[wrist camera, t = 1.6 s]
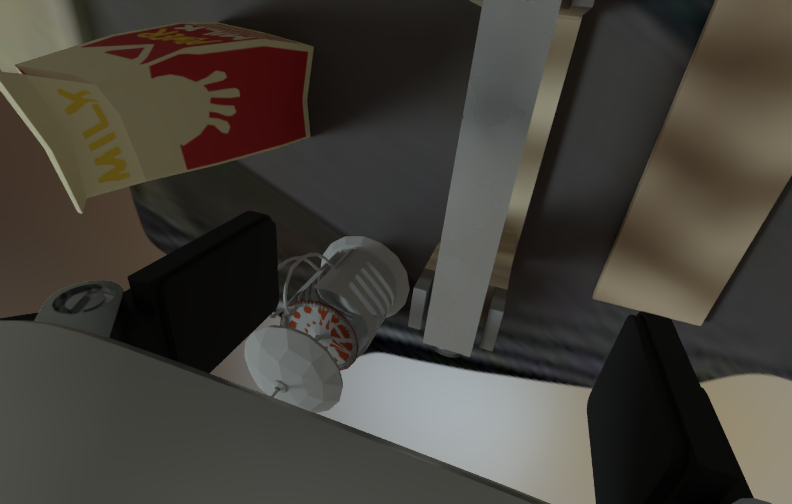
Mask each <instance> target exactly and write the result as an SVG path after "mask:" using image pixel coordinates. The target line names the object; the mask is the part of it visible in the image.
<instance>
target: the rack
mask: <svg viewBox="0 0 792 504" xmlns="http://www.w3.org/2000/svg"><path fill="white" fill-rule="evenodd" d="M469 1H471V2H473V3H475V4H477V5H479V6H481V7H482V4H483V0H469ZM594 1H595V0H562V1H561V5H560V9H559V13H558V17H557V21H556V25H555V29H554V32H553V36H552V40H551V44H550V48H549V52H548V56H547V60H546V64H545V67H544V71H543V75H542V79H541V83H540V87H539V91H538V95H537V99H536V102H535V106H534V110H533V114H532V118H531V122H530V126H529V130H528V133H527V137H526V141H525V145H524V149H523V153H522V157H521V161H520V165H519V168H518V172H517V176H516V180H515V184H514V188H513V192H512V196H511V200H510V203H509V207H508V211H507V215H506V219H505V223H504V227H503V231H502V235H501V238H500V242H499V246H498V250H497V254H496V258H495V262H494V266H493V269H492V273H491V277H490V281H489V285H488V289H487V293H486V297H485V301H484V304H483V308H482V312H481V316H480V320H479V322H481V323H484V324H485V325H484V329H483V334H482V338H481V342H480V347H479V348H483V349H486V350H489V351H493V347H494V344H495V341H496V337H497V334H498V330H499V327H500V323H501V320H502V317H503V313H504V308H505V302H506V296H507V290H508V284H509V278H510V272H511V267H512V263H513V260H514V256H515V253H516V249H517V246H518V242H519V239H520V235H521V232H522V228H523V225H524V221H525V218H526V214H527V210H528V207H529V203H530V200H531V196H532V193H533V189H534V186H535V182H536V179H537V175H538V172H539V168H540V165H541V161H542V158H543V154H544V151H545V147H546V143H547V140H548V136H549V133H550V129H551V126H552V122H553V119H554V115H555V112H556V108H557V105H558V101H559V98H560V94H561V91H562V87H563V84H564V80H565V76H566V73H567V69H568V66H569V62H570V59H571V55H572V52H573V48H574V45H575V41H576V38H577V34H578V31H579V27H580V24H581V20H582V16H583V15H584V14H585V13H586V12H587V11H589V10H590V9H591V8H592V7H593V4H594ZM440 243H441V239H440V241H439V243H438V245H437V246H436V248H435V250H434V252H433V254H432V255H431V257H430V259H429V261H428V263H427V265H426V266H425V268H424V270H423V272H422V274H421V275H420V277H419V279H418V281H417V283H416V284H415V286H414V290H413V296H412V303H411V310H410V316H409V323H408V326H409V327H412V328H416V329H419V330H420V329H421V327H422V324H423V322H424V320H425V318H426V315H427V313H428V311H429V305H430V300H431V294H432V288H433V283H434V277H435V271H436V266H437V260H438V254H439V249H440Z"/></svg>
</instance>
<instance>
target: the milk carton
mask: <svg viewBox="0 0 792 504" xmlns="http://www.w3.org/2000/svg"><path fill="white" fill-rule="evenodd" d="M313 50H314V46H311V45H307V44H303V43H300V42H296V41H293V40H289V39H286V38H282V37H278V36H275V35H271V34H268V33H264V32H259V31H255V30H250V29H245V28H241V27H236V26H232V25H227V24H223V23H218V22H198V23H174V24H169V25H163V26H158V27H152V28H147V29H141V30H136V31H130V32H125V33H119V34H114V35H109V36H106V37H103V38H100V39H97V40H93V41H90V42H87V43H84V44H81V45H77V46H74V47H71V48H68V49H65V50H61V51H58V52H55V53H52V54H49V55H45V56H42V57H39V58H36V59H32V60H29V61H26V62H23V63H20V64H16V65H15V66H16V68H17V69H18V71H19V72H20V74H17V73H6V72H0V91H1V92H2V93H3V94H4V96H5V97H6V98H7V100H8V101H9V102H10V104H11V105H12V106H13V108H14V109H15V110H16V112H17V113H18V114H19V116H20V117H21V118H22V120H23V121H24V122H25V124H26V125H27V126H28V127H29V129H30V130H31V131H32V133H33V134H34V135H35V136H36V138H37V139H38V141H39V142H40V143H41V145H42V146H43V147H44V149H45V150H46V152H47V154H48V156H49V158H50V160H51V162H52V164H53V166H54V168H55V169H56V171H57V173H58V175H59V177H60V179H61V181H62V183H63V185H64V186H65V189H66V190H67V192H68V194H69V196H70V198H71V200H72V202H73V204H74V206H75V208H76V209H77V211H78V212H79V213H81V214H82V213H83V210H84V206H85V202H86V198H89V197H92V196H96V195H100V194H103V193H107V192H110V191H114V190H118V189H121V188H125V187H128V186H132V185H135V184H139V183H143V182H146V181H150V180H155V179H159V178H163V177H167V176H172V175H176V174H180V173H185V172H189V171H193V170H197V169H202V168H206V167H210V166H215V165H219V164H222V163H226V162H229V161H233V160H237V159H240V158H244V157H248V156H251V155H255V154H258V153H262V152H266V151H269V150H273V149H277V148H280V147H283V146H286V145H289V144H292V143H295V142H298V141H301V140H304V139H307V138H310V137H311V135H310V125H309V114H308V104H307V97H308V89H309V82H310V74H311V66H312V58H313Z"/></svg>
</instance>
